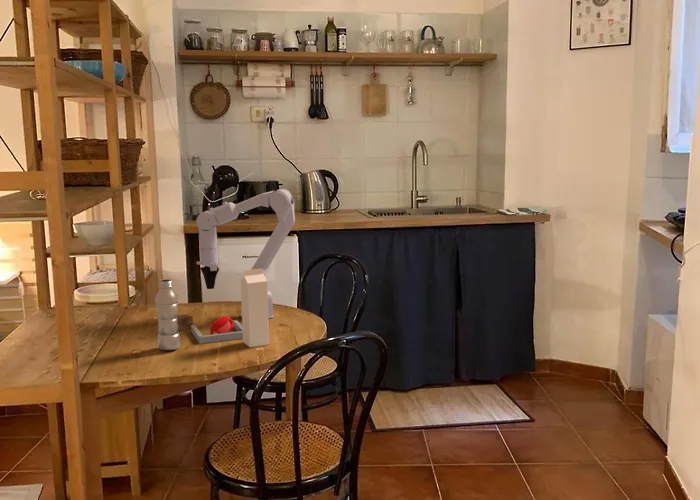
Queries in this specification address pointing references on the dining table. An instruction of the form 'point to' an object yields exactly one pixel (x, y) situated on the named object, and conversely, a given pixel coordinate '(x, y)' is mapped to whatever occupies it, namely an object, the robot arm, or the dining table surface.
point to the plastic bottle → (167, 316)
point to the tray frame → (218, 337)
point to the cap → (222, 325)
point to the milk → (254, 308)
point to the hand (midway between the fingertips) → (210, 288)
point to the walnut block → (184, 322)
